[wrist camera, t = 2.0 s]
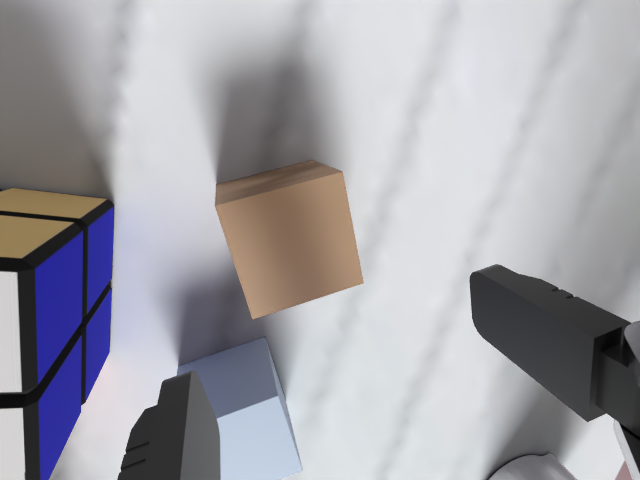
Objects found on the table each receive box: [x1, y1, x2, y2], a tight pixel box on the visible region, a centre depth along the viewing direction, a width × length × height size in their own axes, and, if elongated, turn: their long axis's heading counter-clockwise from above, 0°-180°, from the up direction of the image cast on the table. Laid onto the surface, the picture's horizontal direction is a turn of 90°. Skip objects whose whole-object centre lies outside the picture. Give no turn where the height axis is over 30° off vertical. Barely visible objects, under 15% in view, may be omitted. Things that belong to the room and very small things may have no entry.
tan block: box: [215, 160, 363, 319], centre depth 20 cm, size 6×6×6 cm
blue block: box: [177, 337, 302, 480], centre depth 23 cm, size 6×6×6 cm
